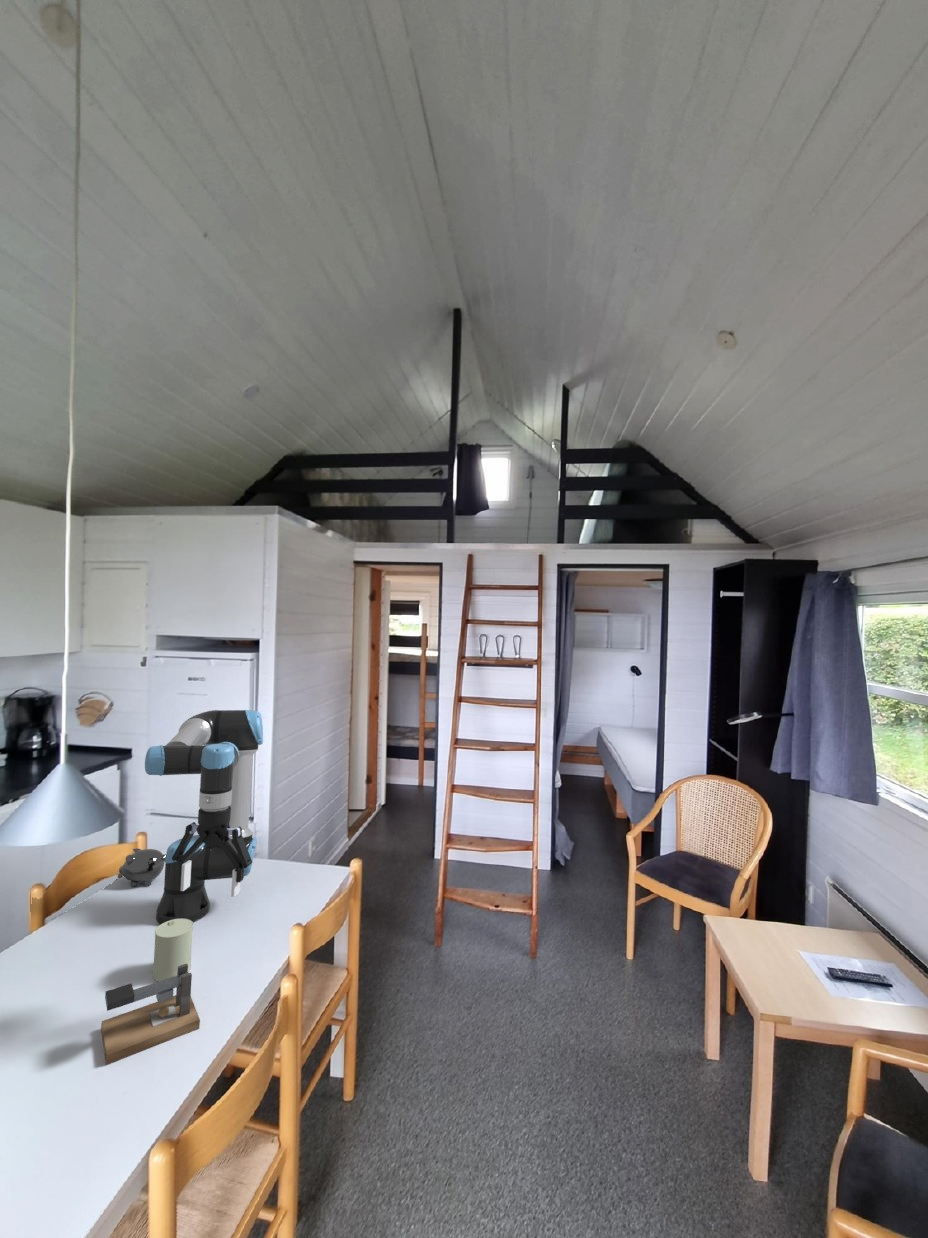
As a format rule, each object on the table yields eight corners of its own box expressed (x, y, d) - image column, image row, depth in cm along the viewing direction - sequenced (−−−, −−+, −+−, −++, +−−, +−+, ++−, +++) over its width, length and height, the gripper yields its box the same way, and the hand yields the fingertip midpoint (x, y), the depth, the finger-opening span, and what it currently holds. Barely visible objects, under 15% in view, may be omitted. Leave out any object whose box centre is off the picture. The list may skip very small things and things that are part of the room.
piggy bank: (124, 877, 192) (126, 845, 193) (170, 874, 196) (172, 843, 196) (112, 892, 181) (114, 858, 182) (160, 888, 185) (162, 855, 185)
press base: (101, 1030, 121) (104, 981, 121) (188, 999, 132) (190, 954, 132) (106, 1065, 111) (109, 1012, 112) (199, 1028, 123) (202, 980, 123)
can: (184, 956, 149) (187, 913, 149) (195, 972, 142) (198, 927, 142) (147, 969, 142) (150, 924, 143) (157, 987, 136) (160, 939, 136)
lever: (104, 1011, 118) (105, 991, 118) (186, 983, 128) (188, 965, 129) (106, 1025, 114) (107, 1004, 114) (191, 995, 125) (192, 976, 125)
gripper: (159, 807, 132) (154, 893, 131) (253, 816, 129) (249, 904, 128) (179, 798, 139) (174, 879, 139) (268, 806, 136) (264, 889, 136)
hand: (210, 891), depth 134 cm, fingers open, 13 cm apart
